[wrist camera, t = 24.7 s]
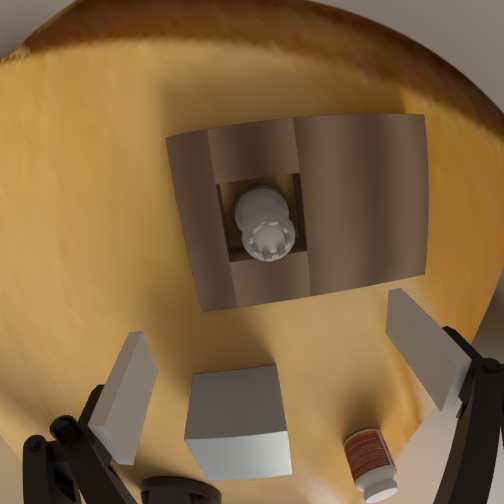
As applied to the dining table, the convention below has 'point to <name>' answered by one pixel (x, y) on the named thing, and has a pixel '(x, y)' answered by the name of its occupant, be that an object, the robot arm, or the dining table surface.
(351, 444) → the pill bottle
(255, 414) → the block
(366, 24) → the dining table surface
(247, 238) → the rook chess piece
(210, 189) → the socket board
